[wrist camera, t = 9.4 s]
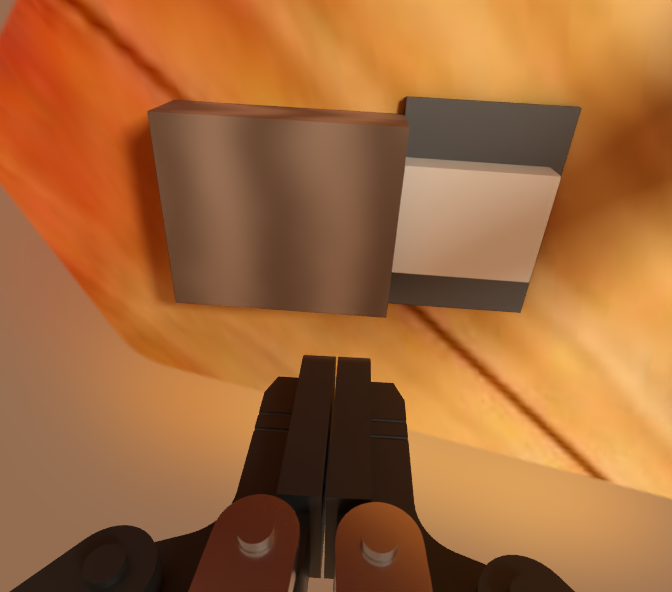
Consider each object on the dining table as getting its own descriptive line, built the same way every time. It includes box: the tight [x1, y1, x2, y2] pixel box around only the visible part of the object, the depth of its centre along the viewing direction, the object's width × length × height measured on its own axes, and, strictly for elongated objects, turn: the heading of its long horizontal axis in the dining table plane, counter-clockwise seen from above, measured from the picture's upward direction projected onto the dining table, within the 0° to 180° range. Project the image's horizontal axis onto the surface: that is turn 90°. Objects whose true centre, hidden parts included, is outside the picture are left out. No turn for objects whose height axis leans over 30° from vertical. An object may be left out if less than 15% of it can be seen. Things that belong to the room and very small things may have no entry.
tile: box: [392, 157, 561, 283], centre depth 30 cm, size 9×7×2 cm
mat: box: [388, 96, 581, 313], centre depth 31 cm, size 10×14×1 cm
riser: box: [147, 100, 410, 318], centre depth 30 cm, size 14×12×4 cm
